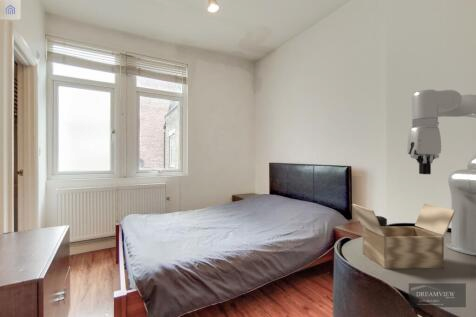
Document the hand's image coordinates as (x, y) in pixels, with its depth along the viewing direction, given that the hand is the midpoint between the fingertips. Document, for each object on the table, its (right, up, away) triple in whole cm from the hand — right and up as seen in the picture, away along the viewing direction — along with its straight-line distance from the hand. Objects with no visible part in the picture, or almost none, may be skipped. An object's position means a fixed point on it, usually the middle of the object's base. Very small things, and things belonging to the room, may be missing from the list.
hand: (424, 174), depth 88 cm
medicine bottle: (-12, -30, +9) cm, 34 cm away
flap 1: (-24, -15, -6) cm, 29 cm away
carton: (-12, -30, -5) cm, 33 cm away
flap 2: (0, -15, -4) cm, 16 cm away
